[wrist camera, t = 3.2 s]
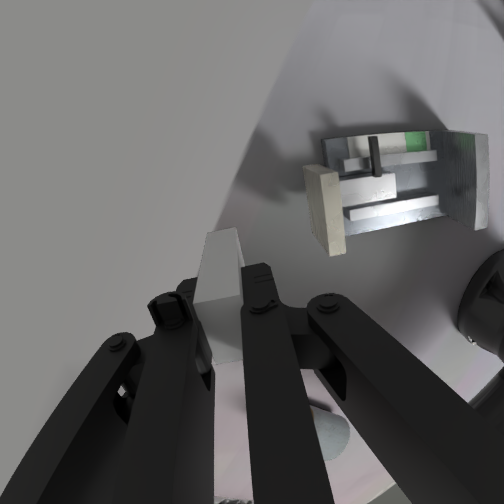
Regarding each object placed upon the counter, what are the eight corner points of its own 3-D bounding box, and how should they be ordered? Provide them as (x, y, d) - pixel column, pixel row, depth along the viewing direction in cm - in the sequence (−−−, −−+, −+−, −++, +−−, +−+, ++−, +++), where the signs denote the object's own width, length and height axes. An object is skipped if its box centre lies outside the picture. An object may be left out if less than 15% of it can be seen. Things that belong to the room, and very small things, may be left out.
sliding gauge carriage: (382, 133, 23) (424, 137, 17) (389, 211, 25) (427, 234, 19) (294, 144, 23) (315, 148, 17) (307, 227, 26) (329, 256, 20)
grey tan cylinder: (305, 392, 36) (316, 437, 29) (344, 406, 38) (357, 446, 31) (258, 427, 39) (261, 468, 32) (297, 438, 41) (303, 476, 34)
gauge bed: (448, 129, 24) (487, 134, 18) (451, 209, 27) (487, 227, 21) (320, 139, 24) (346, 141, 18) (333, 233, 28) (357, 260, 22)
